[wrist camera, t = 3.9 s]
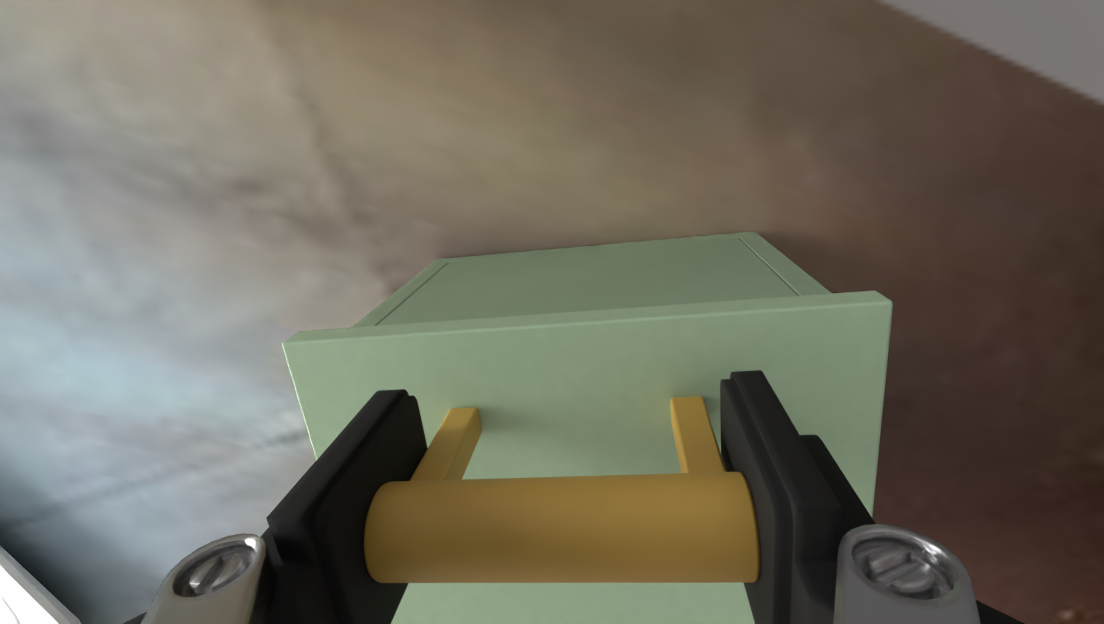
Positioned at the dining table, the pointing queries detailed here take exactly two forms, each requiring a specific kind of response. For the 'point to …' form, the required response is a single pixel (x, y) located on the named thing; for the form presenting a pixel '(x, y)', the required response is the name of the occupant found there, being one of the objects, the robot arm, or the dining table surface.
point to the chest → (596, 279)
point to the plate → (27, 597)
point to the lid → (591, 450)
